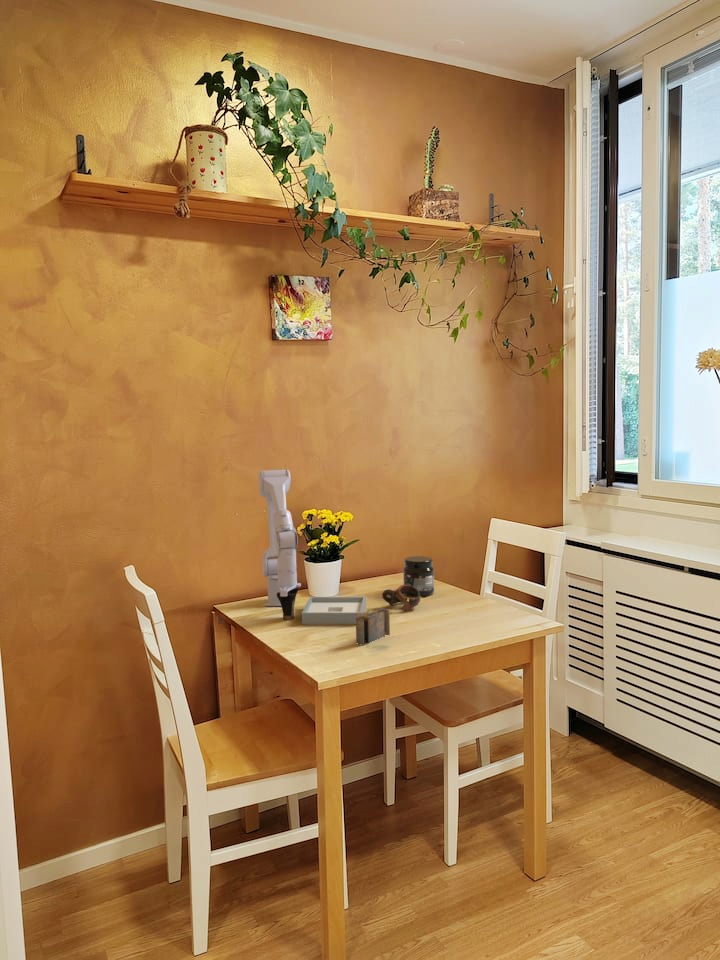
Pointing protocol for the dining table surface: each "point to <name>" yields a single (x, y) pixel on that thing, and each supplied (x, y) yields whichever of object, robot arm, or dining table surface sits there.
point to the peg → (291, 614)
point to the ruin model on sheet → (372, 625)
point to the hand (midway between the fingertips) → (288, 613)
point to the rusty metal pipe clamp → (402, 597)
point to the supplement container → (419, 575)
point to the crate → (333, 610)
